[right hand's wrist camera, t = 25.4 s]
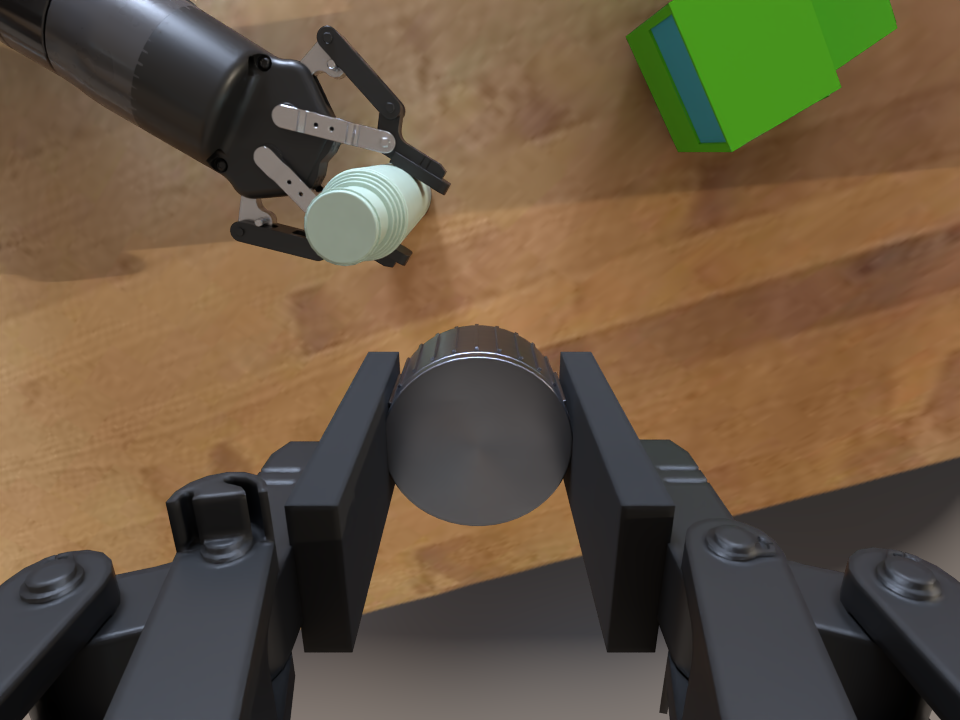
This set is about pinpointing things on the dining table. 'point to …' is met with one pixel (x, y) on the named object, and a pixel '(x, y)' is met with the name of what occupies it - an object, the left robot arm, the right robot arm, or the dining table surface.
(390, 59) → the dining table surface
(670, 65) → the toy car
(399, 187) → the bottle
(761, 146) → the dining table surface
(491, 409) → the cap
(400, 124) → the left robot arm
